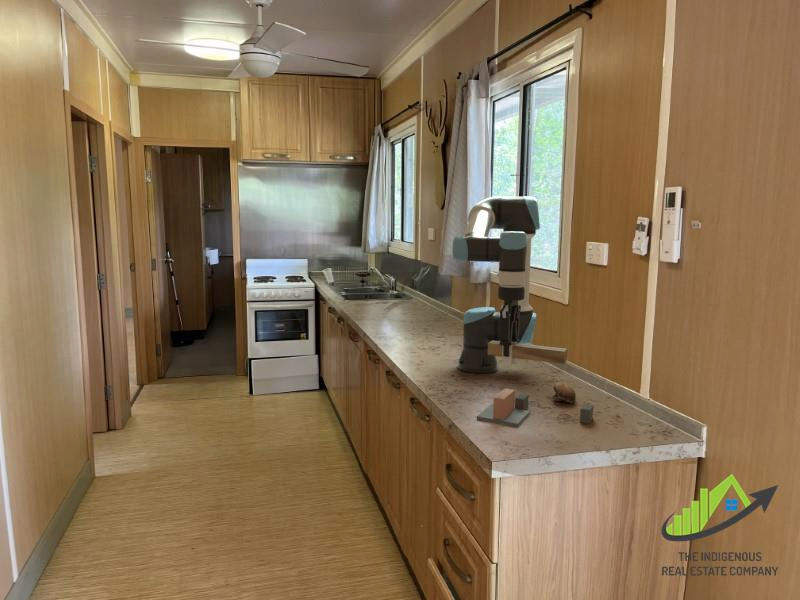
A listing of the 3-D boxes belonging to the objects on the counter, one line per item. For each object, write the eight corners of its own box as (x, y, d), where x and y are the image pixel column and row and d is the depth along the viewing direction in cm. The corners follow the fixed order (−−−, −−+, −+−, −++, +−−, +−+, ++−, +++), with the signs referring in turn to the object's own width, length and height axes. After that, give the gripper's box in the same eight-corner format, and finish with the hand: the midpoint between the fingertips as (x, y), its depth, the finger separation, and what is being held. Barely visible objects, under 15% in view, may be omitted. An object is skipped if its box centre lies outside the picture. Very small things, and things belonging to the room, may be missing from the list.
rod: (491, 352, 169) (491, 340, 168) (566, 361, 159) (567, 348, 158) (487, 354, 166) (488, 342, 165) (564, 364, 156) (564, 351, 155)
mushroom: (542, 390, 179) (555, 375, 177) (554, 394, 184) (567, 380, 183) (559, 408, 173) (572, 393, 172) (570, 412, 179) (584, 397, 177)
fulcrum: (491, 407, 172) (491, 385, 171) (530, 414, 166) (530, 391, 165) (476, 419, 162) (477, 396, 161) (517, 427, 156) (518, 402, 155)
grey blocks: (519, 406, 173) (520, 393, 173) (592, 418, 163) (593, 405, 162) (514, 410, 169) (515, 398, 169) (589, 423, 159) (590, 410, 158)
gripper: (507, 282, 171) (504, 357, 174) (489, 288, 156) (487, 370, 159) (531, 283, 167) (528, 360, 171) (516, 289, 153) (513, 373, 156)
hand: (508, 365), depth 165 cm, fingers closed on rod, 4 cm apart
